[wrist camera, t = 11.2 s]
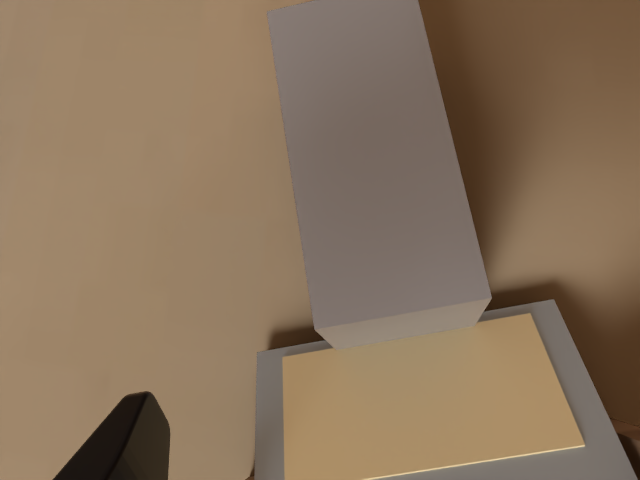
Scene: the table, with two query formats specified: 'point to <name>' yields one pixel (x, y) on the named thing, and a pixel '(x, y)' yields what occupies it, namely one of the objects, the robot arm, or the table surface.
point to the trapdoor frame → (633, 439)
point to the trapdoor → (438, 407)
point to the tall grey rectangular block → (374, 173)
